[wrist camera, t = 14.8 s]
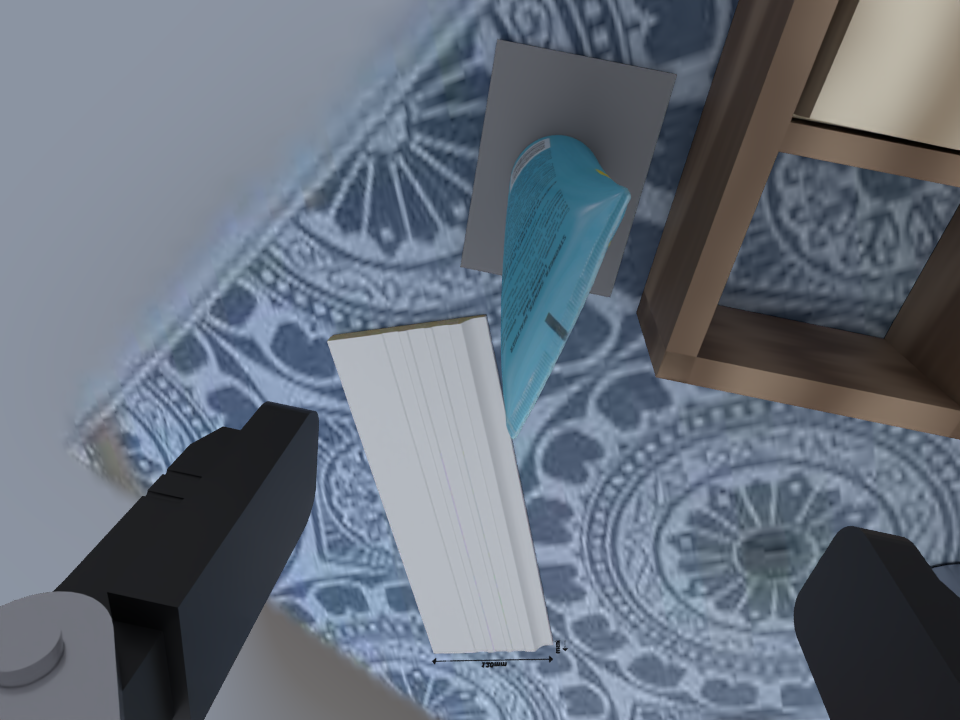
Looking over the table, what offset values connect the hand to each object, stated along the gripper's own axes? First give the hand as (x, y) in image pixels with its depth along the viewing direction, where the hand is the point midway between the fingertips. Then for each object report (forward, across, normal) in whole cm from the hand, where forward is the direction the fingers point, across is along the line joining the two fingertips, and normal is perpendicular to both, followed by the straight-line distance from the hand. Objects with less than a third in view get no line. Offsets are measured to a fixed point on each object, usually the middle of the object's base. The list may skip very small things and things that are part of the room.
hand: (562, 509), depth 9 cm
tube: (+26, 0, 0) cm, 26 cm away
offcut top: (+22, -15, -8) cm, 28 cm away
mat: (+27, 0, 0) cm, 27 cm away
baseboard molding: (+28, +1, +25) cm, 38 cm away
